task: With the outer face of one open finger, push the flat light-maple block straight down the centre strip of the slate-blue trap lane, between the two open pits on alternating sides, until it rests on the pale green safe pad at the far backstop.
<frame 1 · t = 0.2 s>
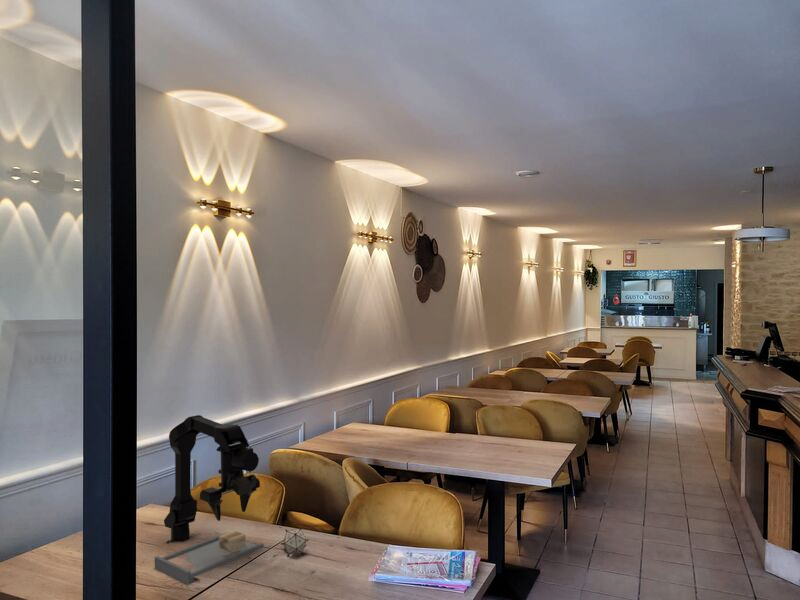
hand: (231, 516, 185), 14 cm above the table, fingers open, 9 cm apart
wire geodesic ornament: (294, 554, 190), on the table
maple block: (232, 546, 194), point 1 cm above the table, touching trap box
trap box: (211, 559, 187), on the table
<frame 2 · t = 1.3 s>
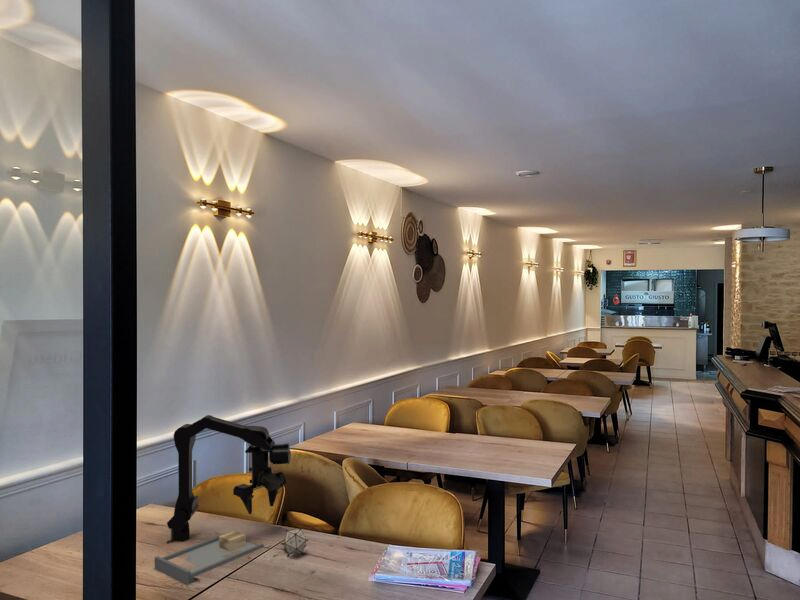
hand: (261, 510, 203), 10 cm above the table, fingers open, 9 cm apart
nothing on the table moved.
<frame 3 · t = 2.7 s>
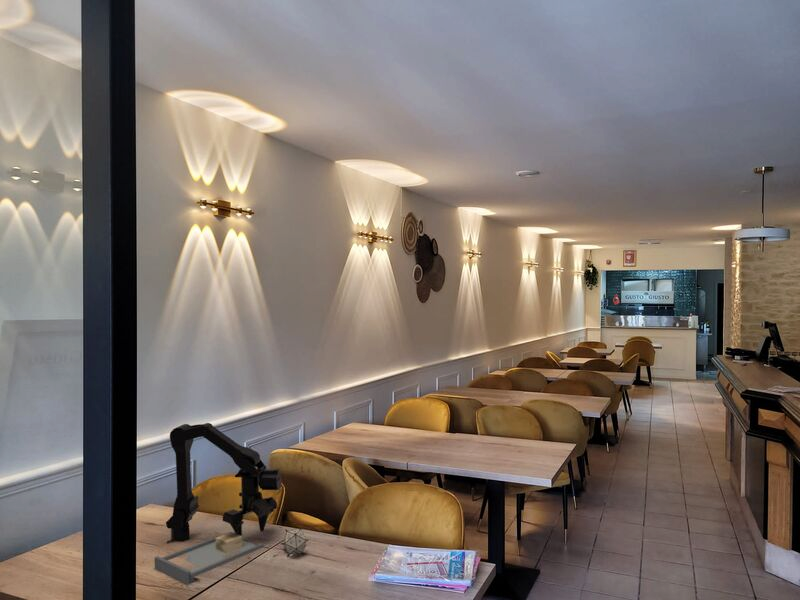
hand: (251, 535, 200), 2 cm above the table, fingers open, 9 cm apart
maple block: (229, 547, 192), point 1 cm above the table, touching gripper, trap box
everything else where it was.
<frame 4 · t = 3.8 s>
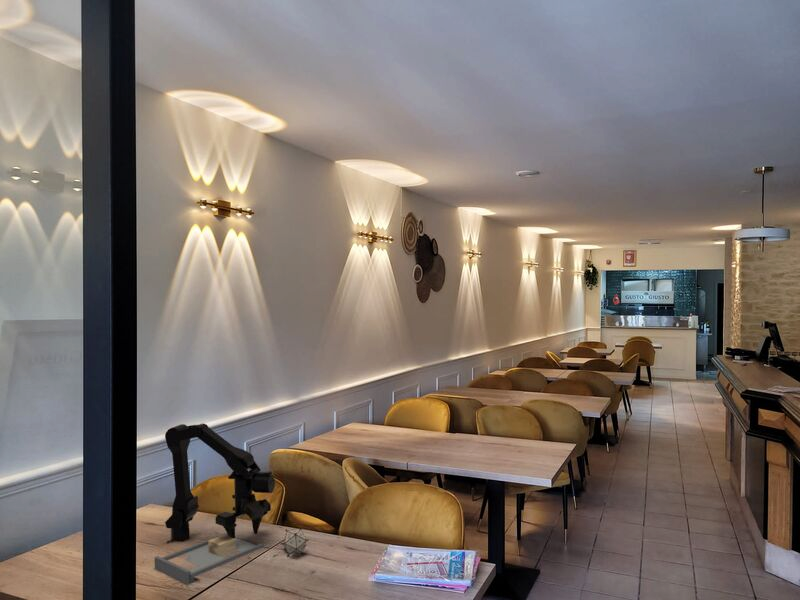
hand: (244, 538, 197), 2 cm above the table, fingers open, 9 cm apart
maple block: (222, 550, 190), point 2 cm above the table, touching gripper, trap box
everything else where it was.
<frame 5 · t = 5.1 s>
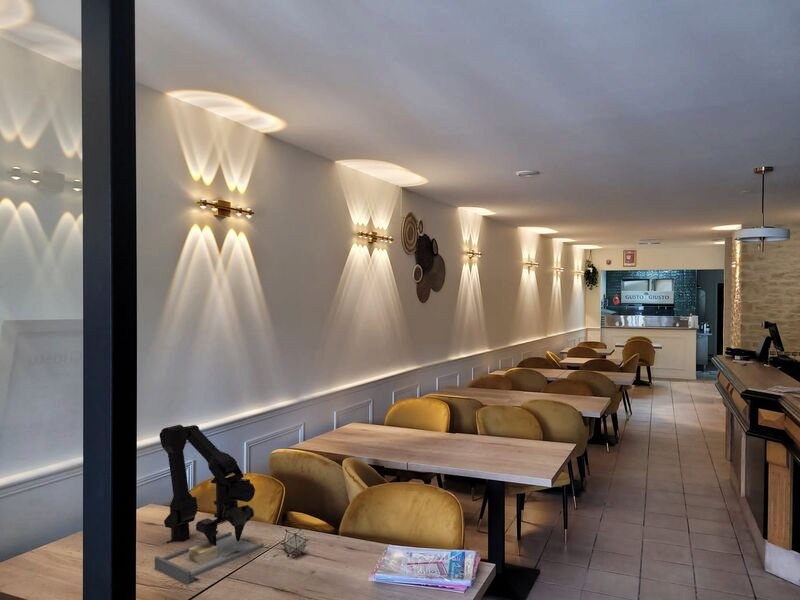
hand: (226, 545, 192), 3 cm above the table, fingers open, 9 cm apart
maple block: (203, 558, 184), point 2 cm above the table, touching gripper
everything else where it was.
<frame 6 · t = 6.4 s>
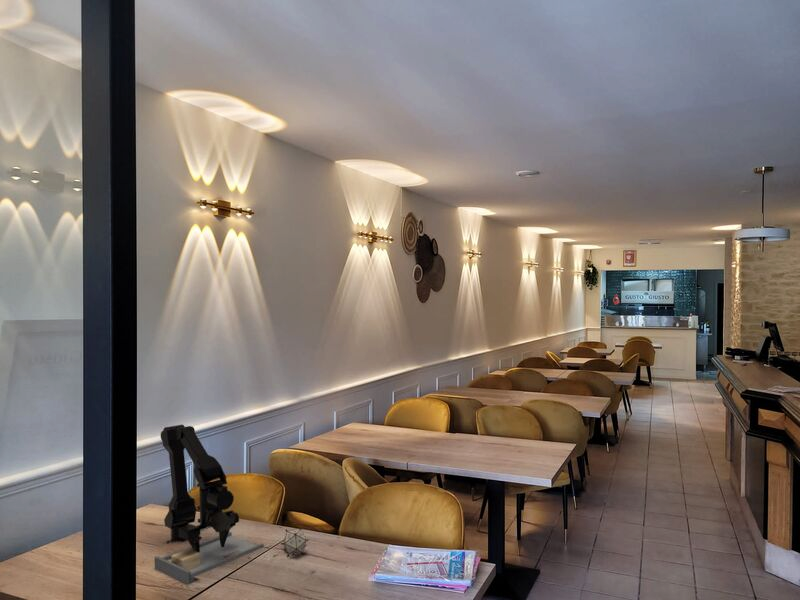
hand: (210, 551, 187), 3 cm above the table, fingers open, 9 cm apart
maple block: (186, 565, 180), point 1 cm above the table, touching gripper, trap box
everything else where it was.
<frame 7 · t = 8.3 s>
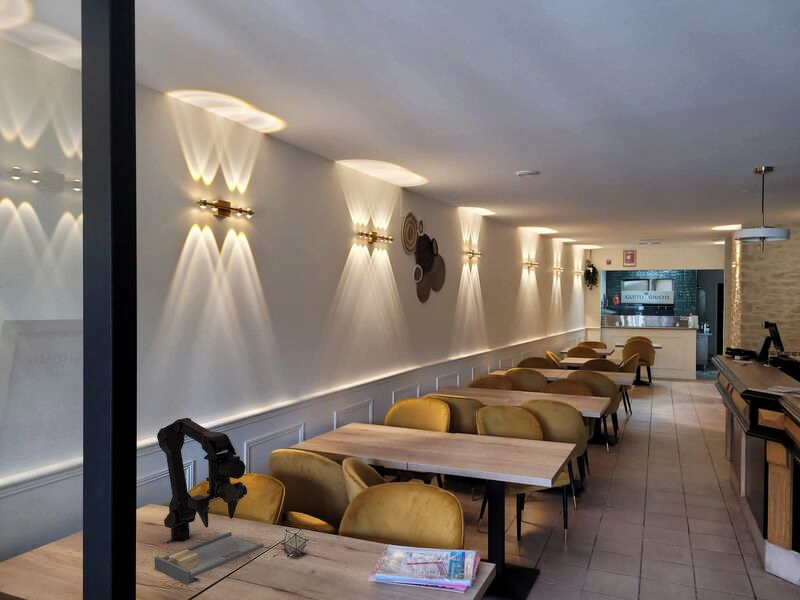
hand: (219, 522, 190), 11 cm above the table, fingers open, 9 cm apart
maple block: (183, 566, 179), point 1 cm above the table, touching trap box
everything else where it was.
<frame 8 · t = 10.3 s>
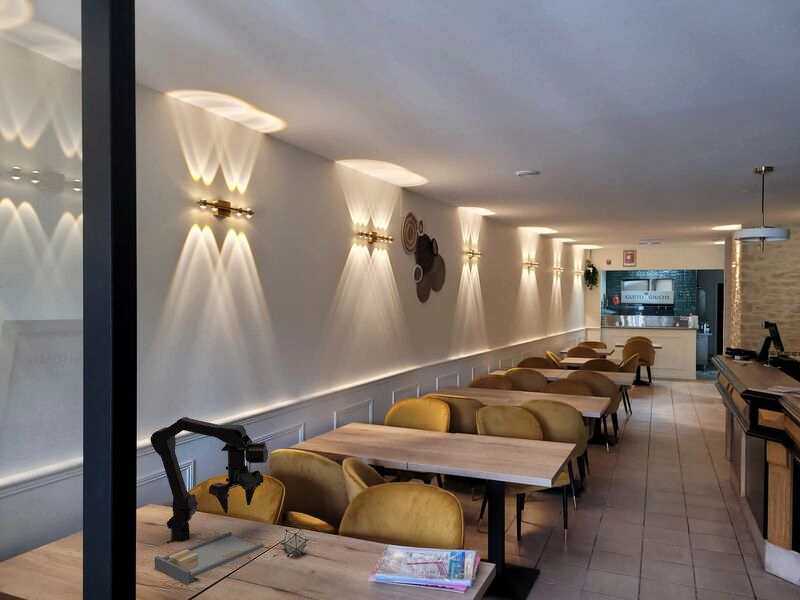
hand: (237, 508, 201), 11 cm above the table, fingers open, 9 cm apart
nothing on the table moved.
at the end: maple block inside the target area (0.4 cm from its centre), point 1.5 cm above the table; maple block tilted 1° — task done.
